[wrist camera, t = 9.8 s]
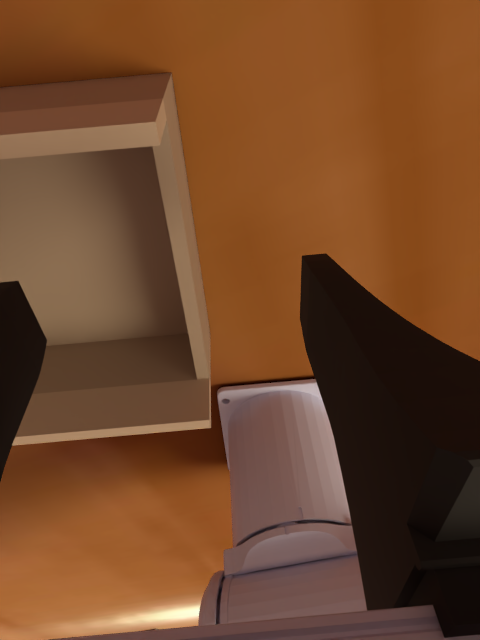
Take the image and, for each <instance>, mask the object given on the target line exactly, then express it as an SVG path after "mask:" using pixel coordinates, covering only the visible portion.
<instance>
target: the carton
mask: <svg viewBox="0 0 480 640" xmlns="http://www.w3.org/2000/svg"><path fill="white" fill-rule="evenodd" d="M10 281H19V283H20V285H21V287H22V289H23V292H24V294H25V296H26V298H27V300H28V302H29V304H30V306H31V308H32V310H33V312H34V314H35V316H36V318H37V320H38V322H39V324H40V327H41V329H42V331H43V333H44V335H45V337H46V339H47V344H46V349H45V354H44V359H43V363H42V367H41V372H40V375H39V378H38V381H37V383H36V386H35V388H34V391H33V394H32V396H31V399H30V401H29V404H28V406H27V409H26V411H25V414H24V416H23V419H22V421H21V424H20V426H19V429H18V431H17V434H16V436H15V439H14V441H13V444H12V446H13V445H25V444H36V443H47V442H58V441H70V440H81V439H92V438H103V437H114V436H126V435H137V434H148V433H159V432H171V431H182V430H193V429H204V428H211V369H210V329H209V322H208V315H207V309H206V302H205V295H204V288H203V282H202V275H201V268H200V261H199V255H198V248H197V241H196V234H195V228H194V221H193V214H192V207H191V201H190V194H189V187H188V180H187V174H186V167H185V160H184V153H183V147H182V140H181V133H180V127H179V120H178V113H177V106H176V100H175V93H174V86H173V79H172V73H162V74H150V75H139V76H127V77H116V78H104V79H92V80H81V81H69V82H58V83H46V84H35V85H23V86H11V87H0V282H10Z"/></svg>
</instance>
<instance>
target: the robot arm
mask: <svg viewBox="0 0 480 640" xmlns="http://www.w3.org/2000/svg"><path fill="white" fill-rule="evenodd" d="M300 321H301V326H302V332H303V337H304V342H305V347H306V351H307V355H308V358H309V361H310V364H311V367H312V370H313V373H314V376H315V379H308V380H297V381H286V382H274V383H263V384H252V385H241V386H229V387H222V388H220V389H218V391H217V399H218V405H219V412H220V418H221V425H222V431H223V438H224V444H225V451H226V457H227V464H228V469H229V470H230V487H231V509H232V532H233V548H231V549H226V550H224V571H218V572H216V573H214V575H213V576H212V578H211V579H210V582H209V584H208V586H207V588H206V590H205V592H204V594H203V597H202V601H201V606H200V613H199V625H198V626H193V627H182V628H171V629H160V630H149V631H138V632H127V633H116V634H105V635H94V636H83V637H72V638H61V639H50V640H480V361H478V360H476V359H474V358H472V357H470V356H468V355H466V354H464V353H462V352H460V351H458V350H456V349H454V348H452V347H450V346H449V345H447V344H445V343H443V342H441V341H440V340H438V339H436V338H434V337H433V336H431V335H430V334H428V333H426V332H425V331H423V330H421V329H420V328H418V327H416V326H415V325H413V324H412V323H410V322H409V321H407V320H406V319H404V318H403V317H401V316H400V315H399V314H397V313H396V312H394V311H393V310H392V309H390V308H389V307H388V306H386V305H385V304H384V303H382V302H381V301H380V300H378V299H377V298H376V297H375V296H373V295H372V294H371V293H370V292H368V291H367V290H366V289H365V288H364V287H363V286H361V285H360V284H359V283H358V282H357V281H356V280H354V279H353V278H352V277H351V276H350V275H349V274H348V273H347V272H346V271H345V270H343V269H342V268H341V267H340V266H339V265H338V264H337V263H336V262H335V261H334V260H333V259H331V258H330V257H329V256H328V255H327V254H316V255H305V256H302V271H301V302H300ZM46 344H47V339H46V337H45V335H44V333H43V331H42V329H41V327H40V324H39V322H38V320H37V318H36V316H35V314H34V312H33V310H32V308H31V306H30V304H29V302H28V300H27V298H26V296H25V294H24V292H23V289H22V287H21V285H20V283H19V281H10V282H0V481H1V477H2V474H3V470H4V467H5V463H6V461H7V458H8V455H9V452H10V449H11V446H12V444H13V441H14V439H15V436H16V434H17V431H18V429H19V426H20V424H21V421H22V419H23V416H24V414H25V411H26V409H27V406H28V404H29V401H30V399H31V396H32V394H33V391H34V388H35V386H36V383H37V381H38V378H39V375H40V372H41V367H42V363H43V359H44V354H45V349H46Z"/></svg>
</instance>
